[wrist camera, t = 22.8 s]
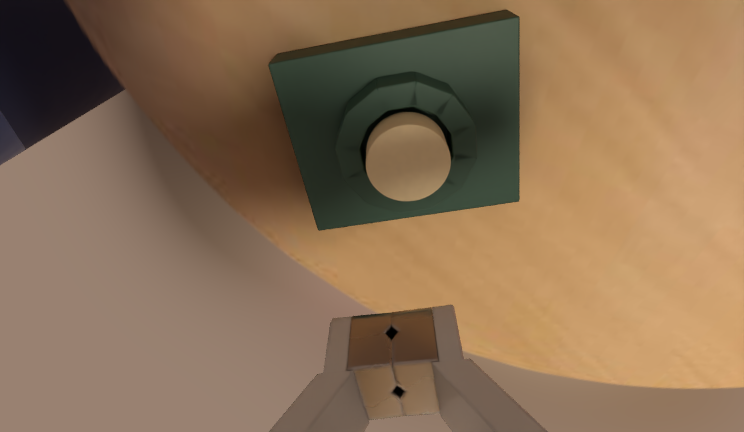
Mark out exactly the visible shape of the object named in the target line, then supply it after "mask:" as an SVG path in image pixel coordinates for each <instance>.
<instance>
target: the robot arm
mask: <svg viewBox="0 0 744 432" xmlns="http://www.w3.org/2000/svg"><path fill="white" fill-rule="evenodd" d="M432 312H433V313H432ZM433 319H434V320H433ZM429 414H440V415H441V417H442V418H443V419H444V421H445V422H446V424H447V425H448V426H449V428H450V429H451V430H452V432H547V431H546V430H545V429H544V428H543V427H542V426H541V425H540V424H539V423H538V422H537V421H536V420H535V419H534V418H533V417H532V416H530V415H529V414H528V413H527V412H526V411H525V410H524V409H523V408H522V407H521V406H520V405H519V404H518V403H517V402H516V401H515V400H514V399H512V398H511V397H510V396H509V395H508V394H507V393H506V392H505V391H504V390H503V389H502V388H501V387H500V386H499V385H498V384H497V383H496V382H494V381H493V380H492V379H491V378H490V377H489V376H488V375H487V374H486V373H485V372H484V371H483V370H482V369H481V368H480V367H479V366H478V365H477V364H475V363H474V362H473V361H472V360H471V359H464V357H463V352H462V347H461V341H460V336H459V331H458V326H457V320H456V315H455V310H454V307H453V305H446V306H438V307H430V308H422V309H414V310H406V311H398V312H392V313H382V314H371V315H361V316H353V317H343V318H333V319H332V321H331V323H330V329H329V337H328V343H327V350H326V358H325V365H324V372H323V373H322V374H317V375H316V376H315V378H314V379H313V380H312V381H311V382H310V383H309V385H308V386H307V387H306V388H305V390H304V391H303V392H302V393H301V394H300V395H299V397H298V398H297V399H296V400H295V401H294V402H293V404H292V405H291V406H290V407H289V408H288V410H287V411H286V412H285V413H284V414H283V416H282V417H281V418H280V419H279V420H278V422H277V423H276V424H275V425H274V426H273V427H272V429H271V430H270V431H269V432H364V431H365V429H366V427H367V426H368V424H369V420H374V419H382V418H391V417H400V416H413V415H429Z"/></svg>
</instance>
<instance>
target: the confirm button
mask: <svg viewBox="0 0 744 432" xmlns="http://www.w3.org/2000/svg"><path fill="white" fill-rule="evenodd" d="M450 166H451V157H450V152H449V149H448V146H447V143H446V140H445V137H444V134H443V132H442V130H441V129H440V127H439V126H438V125H437V124H436V122H434V121H433V120H432V119H431V118H429V117H427V116H425V115H423V114H420V113H416V112H400V113H396V114H393V115H390V116H388V117H386V118H385V119H383V120H382V121H380V122H379V123H378V124H377V125H376V126H375V128H374V129H373V130H372V132H371V134H370V136H369V138H368V142H367V148H366V172H367V175H368V178H369V180H370V182H371V183H372V185H373V186H374V187H375V188H376V189H377V190H378V191H379V192H380V193H382V194H383V195H385V196H386V197H388V198H391V199H394V200H398V201H415V200H420V199H423V198H425V197H427V196H429V195H431V194H433V193H434V192H435V191H437V190H438V189H439V188H440V187H441V186H442V184H443V183H444V182H445V180H446V178H447V176H448V174H449V171H450Z"/></svg>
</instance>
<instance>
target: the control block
mask: <svg viewBox="0 0 744 432" xmlns="http://www.w3.org/2000/svg"><path fill="white" fill-rule="evenodd" d="M268 66H269V69H270V72H271V75H272V79H273V82H274V85H275V89H276V92H277V95H278V99H279V102H280V105H281V109H282V112H283V115H284V119H285V122H286V125H287V129H288V132H289V135H290V139H291V142H292V145H293V149H294V152H295V155H296V158H297V162H298V165H299V168H300V172H301V175H302V178H303V182H304V185H305V188H306V192H307V195H308V198H309V202H310V205H311V208H312V212H313V215H314V218H315V222H316V225H317V228H318V230H326V229H333V228H340V227H347V226H354V225H361V224H367V223H374V222H381V221H388V220H395V219H402V218H409V217H415V216H422V215H429V214H436V213H443V212H450V211H457V210H463V209H470V208H477V207H484V206H491V205H498V204H504V203H511V202H518V201H519V16H517V15H515V14H513V13H512V12H510V11H508V10H504V11H498V12H493V13H488V14H483V15H478V16H472V17H467V18H462V19H457V20H452V21H446V22H441V23H436V24H431V25H425V26H420V27H415V28H410V29H405V30H399V31H394V32H389V33H384V34H379V35H373V36H368V37H363V38H358V39H352V40H347V41H342V42H337V43H332V44H326V45H321V46H316V47H311V48H306V49H300V50H295V51H290V52H285V53H280V54H277V55H276V56H275V57H274V58H273V59H272V61H271V62H270V63H269V65H268ZM400 112H416V113H420V114H423V115H425V116H427V117H429V118H431V119H432V120H433V121H434V122H436V124H437V125H438V126H439V127H440V129H441V130H442V132H443V134H444V137H445V140H446V143H447V146H448V149H449V152H450V157H451V166H450V171H449V174H448V176H447V178H446V180H445V182H444V183H443V184H442V186H441V187H440V188H439V189H438V190H437V191H435V192H434V193H433V194H431V195H429V196H427V197H425V198H423V199H420V200H415V201H398V200H394V199H391V198H388V197H386V196H385V195H383V194H382V193H380V192H379V191H378V190H377V189H376V188H375V187H374V186H373V185H372V183H371V182H370V180H369V178H368V175H367V172H366V148H367V142H368V138H369V136H370V134H371V132H372V130H373V129H374V128H375V126H376V125H377V124H378V123H379V122H380V121H382V120H383V119H385V118H386V117H388V116H390V115H393V114H396V113H400Z"/></svg>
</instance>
